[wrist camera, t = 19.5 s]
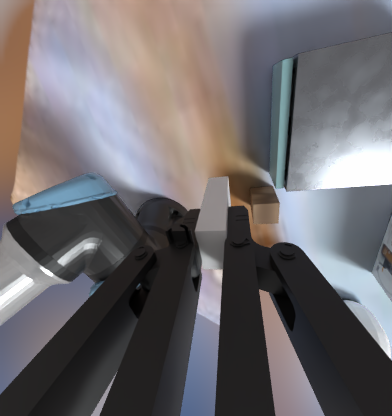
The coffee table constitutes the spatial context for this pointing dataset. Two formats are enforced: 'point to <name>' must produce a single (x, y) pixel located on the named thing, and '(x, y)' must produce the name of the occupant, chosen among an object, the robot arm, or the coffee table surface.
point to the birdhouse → (280, 119)
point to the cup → (370, 324)
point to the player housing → (341, 116)
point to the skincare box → (385, 262)
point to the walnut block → (264, 205)
